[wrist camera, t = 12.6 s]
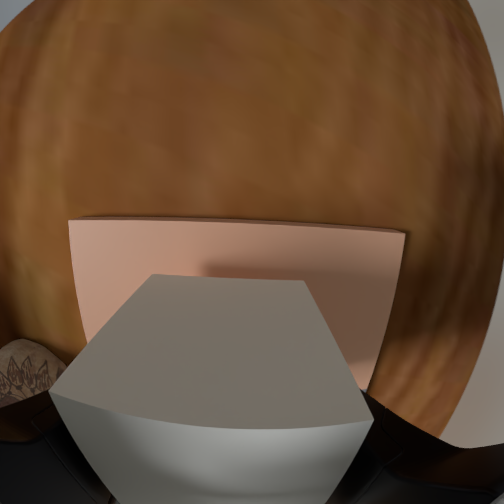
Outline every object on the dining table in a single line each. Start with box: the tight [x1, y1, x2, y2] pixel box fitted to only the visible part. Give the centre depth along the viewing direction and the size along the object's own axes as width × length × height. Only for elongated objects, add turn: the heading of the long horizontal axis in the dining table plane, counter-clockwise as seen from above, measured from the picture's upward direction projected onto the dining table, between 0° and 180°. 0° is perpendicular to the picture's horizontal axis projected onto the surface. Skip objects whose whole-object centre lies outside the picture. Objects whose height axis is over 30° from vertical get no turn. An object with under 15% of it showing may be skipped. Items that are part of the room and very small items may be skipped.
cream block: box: [48, 274, 374, 504], centre depth 7 cm, size 5×5×6 cm
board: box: [68, 217, 405, 393], centre depth 12 cm, size 16×14×1 cm
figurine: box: [0, 339, 67, 408], centre depth 8 cm, size 7×7×12 cm
